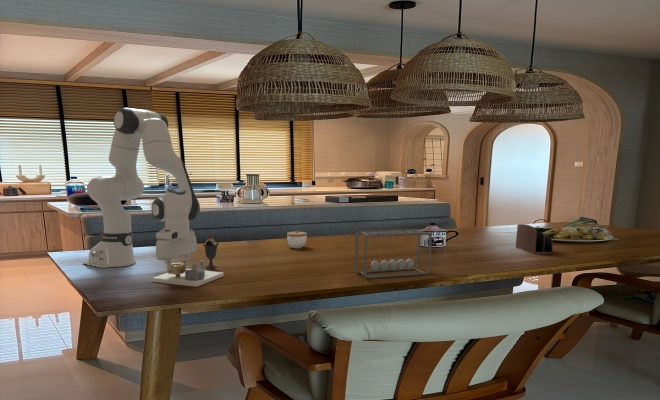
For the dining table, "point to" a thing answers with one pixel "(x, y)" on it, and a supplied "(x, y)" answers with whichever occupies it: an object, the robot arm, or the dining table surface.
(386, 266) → the newton's cradle
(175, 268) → the gear
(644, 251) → the dining table surface
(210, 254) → the sundae
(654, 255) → the dining table surface
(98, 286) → the dining table surface
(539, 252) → the letter holder
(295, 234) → the lidded jar
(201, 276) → the gear board
